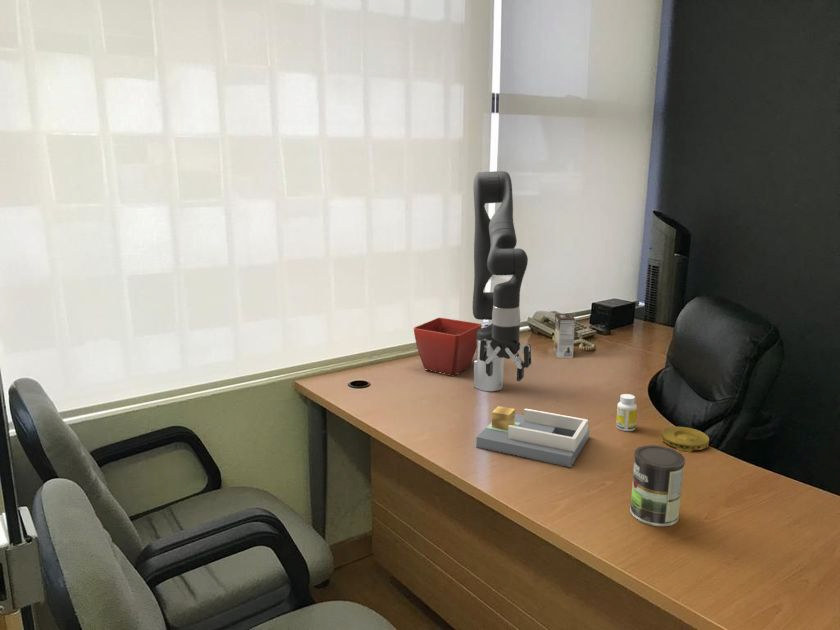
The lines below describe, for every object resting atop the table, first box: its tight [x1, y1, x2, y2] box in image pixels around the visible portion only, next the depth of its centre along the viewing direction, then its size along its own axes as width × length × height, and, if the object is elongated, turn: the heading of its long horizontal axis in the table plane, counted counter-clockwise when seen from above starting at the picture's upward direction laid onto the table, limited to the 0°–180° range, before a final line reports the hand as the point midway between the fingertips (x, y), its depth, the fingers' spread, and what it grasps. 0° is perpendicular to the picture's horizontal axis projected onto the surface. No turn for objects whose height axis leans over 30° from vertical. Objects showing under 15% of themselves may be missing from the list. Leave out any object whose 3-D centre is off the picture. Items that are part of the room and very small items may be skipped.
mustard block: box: [491, 405, 516, 430], centre depth 178 cm, size 5×5×4 cm
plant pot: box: [413, 317, 482, 376], centre depth 234 cm, size 19×19×17 cm
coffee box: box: [553, 312, 576, 359], centre depth 249 cm, size 9×6×16 cm
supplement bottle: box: [615, 393, 638, 432], centre depth 182 cm, size 5×5×10 cm
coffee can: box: [629, 444, 686, 528], centre depth 137 cm, size 10×10×14 cm
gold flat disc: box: [661, 426, 710, 452], centre depth 174 cm, size 12×12×2 cm
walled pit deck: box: [475, 408, 591, 468], centre depth 174 cm, size 26×20×6 cm
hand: (504, 378), depth 175 cm, fingers open, 8 cm apart
